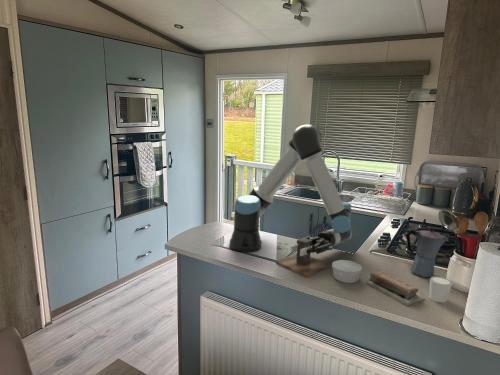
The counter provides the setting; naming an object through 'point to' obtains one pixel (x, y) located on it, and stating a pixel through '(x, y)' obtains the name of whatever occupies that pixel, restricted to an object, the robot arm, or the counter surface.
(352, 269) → the ramekin
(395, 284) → the packaged product
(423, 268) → the moka pot
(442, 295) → the white cup
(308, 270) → the board with upright post
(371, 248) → the counter surface
